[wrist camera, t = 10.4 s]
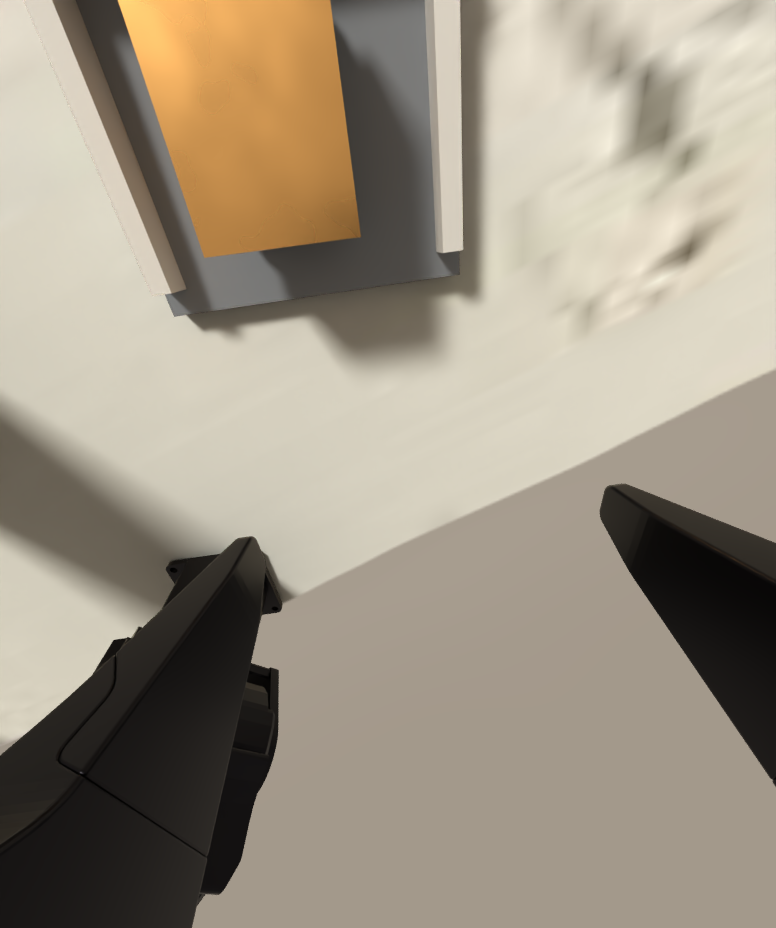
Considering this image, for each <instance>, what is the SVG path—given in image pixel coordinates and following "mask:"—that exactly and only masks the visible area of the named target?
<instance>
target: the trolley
mask: <svg viewBox="0 0 776 928" xmlns="http://www.w3.org/2000/svg"><path fill="white" fill-rule="evenodd" d="M118 2H119V5H120V8H121V11H122V14H123V17H124V20H125V23H126V26H127V29H128V32H129V35H130V38H131V41H132V44H133V47H134V50H135V53H136V56H137V59H138V62H139V65H140V68H141V71H142V74H143V77H144V80H145V83H146V86H147V89H148V92H149V95H150V97H151V100H152V103H153V106H154V109H155V112H156V115H157V118H158V121H159V124H160V127H161V130H162V133H163V136H164V139H165V142H166V145H167V148H168V151H169V154H170V157H171V160H172V163H173V166H174V169H175V172H176V175H177V178H178V181H179V184H180V187H181V190H182V193H183V196H184V199H185V202H186V205H187V208H188V211H189V214H190V217H191V220H192V223H193V226H194V229H195V232H196V235H197V238H198V241H199V244H200V246H201V249H202V252H203V255H204V258H207V257H216V256H225V255H234V254H241V253H249V252H256V251H263V250H271V249H278V248H286V247H293V246H301V245H308V244H315V243H323V242H330V241H338V240H345V239H353V238H360V237H361V233H360V225H359V218H358V210H357V202H356V195H355V187H354V179H353V172H352V164H351V156H350V148H349V141H348V133H347V125H346V118H345V110H344V102H343V95H342V87H341V79H340V72H339V64H338V56H337V49H336V41H335V33H334V25H333V18H332V10H331V2H330V0H118Z"/></svg>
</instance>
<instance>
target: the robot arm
mask: <svg viewBox="0 0 776 928" xmlns="http://www.w3.org/2000/svg"><path fill="white" fill-rule="evenodd" d="M600 517H601V520H602V522H603V524H604V526H605V528H606V530H607V531H608V533H609V535H610V537H611V539H612V540H613V543H614V545H615V546H616V548H617V550H618V552H619V554H620V556H621V558H622V559H623V561H624V563H625V565H626V566H627V568H628V570H629V572H630V573H631V575H632V576H633V578H634V579H635V581H636V582H637V584H638V585H639V587H640V588H641V589H642V591H643V593H644V594H645V595H646V597H647V598H648V600H649V601H650V603H651V604H652V606H653V607H654V609H655V610H656V612H657V613H658V614H659V616H660V617H661V619H662V620H663V622H664V623H665V625H666V626H667V628H668V629H669V630H670V632H671V634H672V635H673V637H674V638H675V639H676V641H677V642H678V644H679V645H680V647H681V648H682V649H683V651H684V653H685V654H686V655H687V657H688V658H689V660H690V661H691V663H692V664H693V666H694V667H695V669H696V670H697V672H698V673H699V675H700V676H701V677H702V679H703V680H704V682H705V683H706V685H707V686H708V688H709V689H710V691H711V692H712V694H713V695H714V697H715V698H716V699H717V701H718V702H719V704H720V705H721V707H722V708H723V710H724V711H725V712H726V714H727V716H728V717H729V718H730V720H731V721H732V723H733V724H734V726H735V727H736V729H737V730H738V732H739V733H740V735H741V736H742V737H743V739H744V740H745V742H746V743H747V745H748V746H749V748H750V749H751V750H752V752H753V754H754V755H755V756H756V758H757V759H758V761H759V762H760V764H761V765H762V767H763V768H764V770H765V771H766V772H767V774H768V776H769V777H770V778H771V779H773V783H774V785H775V786H776V543H774V542H772V541H769V540H767V539H764V538H762V537H759V536H756V535H754V534H751V533H749V532H746V531H744V530H741V529H739V528H736V527H734V526H731V525H729V524H726V523H724V522H721V521H719V520H716V519H713V518H711V517H708V516H706V515H703V514H701V513H698V512H696V511H693V510H691V509H688V508H686V507H683V506H681V505H678V504H676V503H673V502H670V501H668V500H665V499H663V498H660V497H658V496H655V495H653V494H650V493H648V492H645V491H643V490H640V489H638V488H635V487H632V486H630V485H627V484H616V485H610V486H607V487H606V489H605V491H604V495H603V499H602V503H601V507H600ZM166 571H167V573H168V574H169V576H170V577H171V579H172V580H173V582H174V583H175V585H174V587H173V589H172V591H171V593H170V595H169V596H168V598H167V600H166V602H165V604H164V606H163V608H162V610H161V611H160V612H159V613H158V614H157V615H156V616H155V617H153V618H152V619H151V620H150V621H149V622H148V623H147V624H146V625H145V626H144V627H143V628H142V627H138V629H137V630H136V632H135V633H134V635H133V636H132V638H129V637H127V638H124V639H117V640H113V642H112V644H111V645H110V647H109V648H108V650H107V652H106V653H105V655H104V657H103V658H102V660H101V662H100V663H99V665H98V666H97V668H96V670H95V671H94V673H93V675H92V676H91V677H90V678H89V679H88V680H86V681H85V682H84V683H83V684H82V685H81V686H80V687H79V688H78V689H77V690H76V691H74V692H73V693H72V694H71V695H70V696H69V697H68V698H67V699H66V700H64V701H63V702H62V703H61V704H60V705H59V706H58V707H56V708H55V709H54V710H53V711H52V712H51V713H49V714H48V715H47V716H46V717H45V718H44V719H43V720H41V721H40V722H39V723H38V724H37V725H36V726H34V727H33V728H32V729H31V730H30V731H29V732H27V733H26V734H25V735H24V736H23V737H22V738H20V739H19V740H18V741H17V742H16V743H15V744H13V745H12V746H11V747H10V748H9V749H7V750H6V751H5V752H4V753H3V754H2V755H1V756H0V928H192V924H193V920H194V916H195V911H196V907H197V905H198V904H199V902H200V901H201V900H202V898H203V897H204V896H205V894H214V895H219V894H220V893H221V892H222V891H223V890H224V889H225V887H226V886H227V884H228V882H229V880H230V879H231V877H232V875H233V873H234V872H235V870H236V868H237V866H238V865H239V863H240V861H241V857H242V853H243V849H244V844H245V840H246V835H247V830H248V826H249V821H250V817H251V813H252V809H253V805H254V802H255V799H256V795H257V793H258V791H259V790H260V788H261V787H262V785H263V783H264V781H265V779H266V777H267V774H268V772H269V769H270V766H271V763H272V760H273V757H274V753H275V749H276V744H277V737H278V684H279V682H278V681H279V680H278V679H279V675H278V674H279V671H278V670H277V669H274V668H269V669H268V668H265V667H262V666H259V665H255V664H252V663H251V660H252V655H253V650H254V646H255V642H256V637H257V633H258V627H259V623H260V620H261V616H262V615H263V614H271V613H277V612H280V611H281V609H282V602H281V599H280V597H279V595H278V593H277V590H276V588H275V586H274V584H273V581H272V579H271V577H270V575H269V572H268V570H267V568H266V564H265V559H264V556H263V554H262V551H261V549H260V547H259V545H258V542H257V540H256V539H255V538H254V537H252V536H250V537H243V538H238V539H236V540H235V541H234V542H233V543H232V544H231V545H230V546H229V547H227V548H226V549H225V550H224V551H223V552H222V553H221V554H217V555H210V556H203V557H196V558H189V559H182V560H175V561H171V562H169V564H168V565H167V567H166Z"/></svg>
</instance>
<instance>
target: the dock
mask: <svg viewBox="0 0 776 928" xmlns="http://www.w3.org/2000/svg"><path fill="white" fill-rule="evenodd" d="M23 2H24V4H25V6H26V8H27V11H28V13H29V15H30V18H31V20H32V22H33V25H34V27H35V29H36V31H37V34H38V36H39V38H40V41H41V43H42V45H43V47H44V50H45V52H46V54H47V57H48V59H49V61H50V64H51V66H52V68H53V70H54V73H55V75H56V77H57V80H58V82H59V84H60V86H61V89H62V91H63V93H64V96H65V98H66V100H67V103H68V105H69V107H70V109H71V112H72V114H73V116H74V119H75V121H76V123H77V126H78V128H79V130H80V132H81V135H82V137H83V139H84V142H85V144H86V146H87V148H88V151H89V153H90V155H91V158H92V160H93V162H94V165H95V167H96V169H97V171H98V174H99V176H100V178H101V181H102V183H103V185H104V187H105V190H106V192H107V194H108V197H109V199H110V201H111V204H112V206H113V208H114V210H115V213H116V215H117V217H118V220H119V222H120V224H121V227H122V229H123V231H124V233H125V236H126V238H127V240H128V243H129V245H130V247H131V249H132V252H133V254H134V256H135V259H136V261H137V263H138V266H139V268H140V270H141V272H142V275H143V277H144V279H145V282H146V284H147V286H148V288H149V291H150V293H151V295H152V296H158V295H164V294H165V296H166V298H167V301H168V303H169V305H170V308H171V310H172V313H173V315H174V317H175V316H182V315H189V314H196V313H202V312H209V311H216V310H223V309H229V308H236V307H243V306H250V305H256V304H263V303H270V302H277V301H283V300H290V299H297V298H304V297H310V296H317V295H324V294H331V293H338V292H344V291H351V290H358V289H365V288H371V287H378V286H385V285H392V284H398V283H405V282H412V281H419V280H425V279H432V278H439V277H446V276H452V275H459V274H460V268H459V251H461V250H463V200H462V118H461V36H460V0H330V2H331V10H332V18H333V25H334V33H335V41H336V49H337V56H338V64H339V72H340V79H341V87H342V95H343V102H344V110H345V118H346V125H347V133H348V141H349V148H350V156H351V164H352V172H353V179H354V187H355V195H356V202H357V210H358V218H359V225H360V233H361V237H360V238H353V239H345V240H338V241H330V242H323V243H315V244H308V245H301V246H293V247H286V248H278V249H271V250H263V251H256V252H249V253H241V254H234V255H225V256H216V257H207V258H204V255H203V252H202V249H201V246H200V244H199V241H198V238H197V235H196V232H195V229H194V226H193V223H192V220H191V217H190V214H189V211H188V208H187V205H186V202H185V199H184V196H183V193H182V190H181V187H180V184H179V181H178V178H177V175H176V172H175V169H174V166H173V163H172V160H171V157H170V154H169V151H168V148H167V145H166V142H165V139H164V136H163V133H162V130H161V127H160V124H159V121H158V118H157V115H156V112H155V109H154V106H153V103H152V100H151V97H150V95H149V92H148V89H147V86H146V83H145V80H144V77H143V74H142V71H141V68H140V65H139V62H138V59H137V56H136V53H135V50H134V47H133V44H132V41H131V38H130V35H129V32H128V29H127V26H126V23H125V20H124V17H123V14H122V11H121V8H120V5H119V2H118V0H23Z"/></svg>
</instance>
